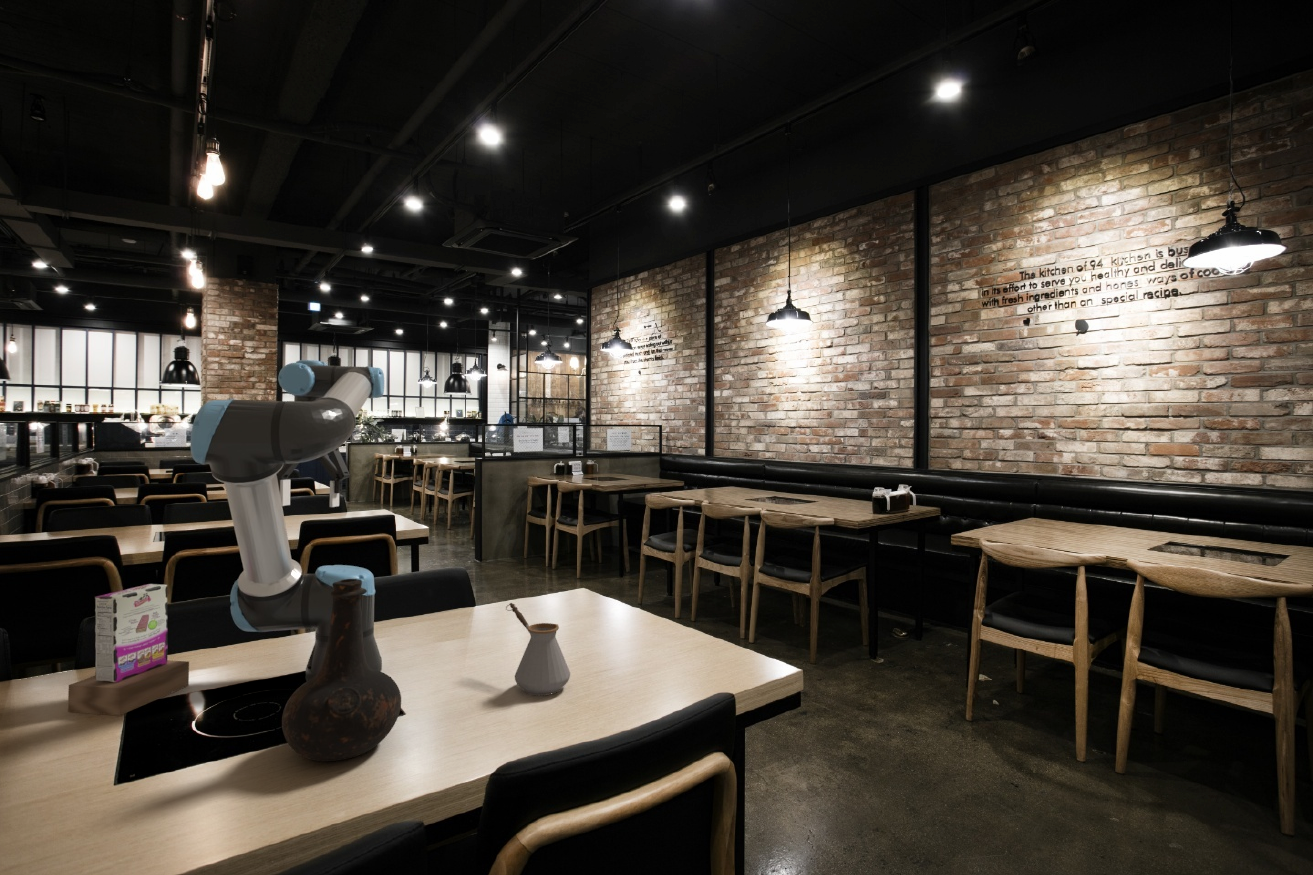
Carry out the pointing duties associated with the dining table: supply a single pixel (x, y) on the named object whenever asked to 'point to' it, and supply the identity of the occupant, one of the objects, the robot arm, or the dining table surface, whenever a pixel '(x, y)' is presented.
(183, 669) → the walnut plinth
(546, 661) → the coffee pot
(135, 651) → the candy bar box
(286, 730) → the brown bottle vase
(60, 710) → the dining table surface
